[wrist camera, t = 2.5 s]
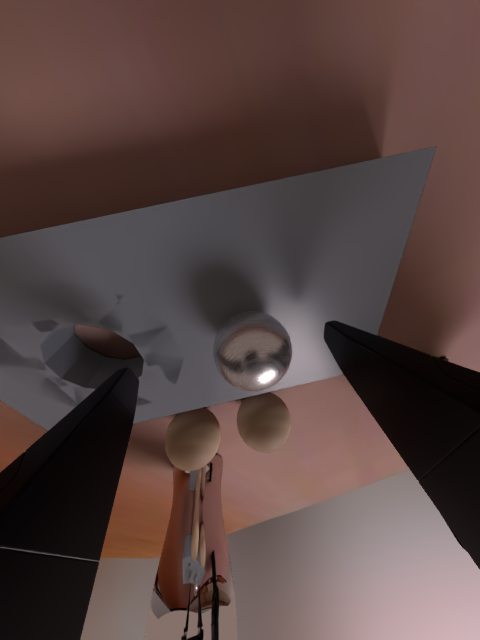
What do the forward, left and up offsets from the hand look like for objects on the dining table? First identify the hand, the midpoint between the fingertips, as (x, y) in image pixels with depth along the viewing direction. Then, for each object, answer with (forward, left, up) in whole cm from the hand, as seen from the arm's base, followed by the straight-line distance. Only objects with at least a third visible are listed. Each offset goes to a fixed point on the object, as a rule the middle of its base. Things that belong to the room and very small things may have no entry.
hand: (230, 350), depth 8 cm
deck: (+2, 0, -4) cm, 5 cm away
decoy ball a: (-1, +10, -2) cm, 10 cm away
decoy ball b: (+5, +10, -2) cm, 11 cm away
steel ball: (-1, 0, 0) cm, 1 cm away
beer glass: (+8, +21, -4) cm, 23 cm away
